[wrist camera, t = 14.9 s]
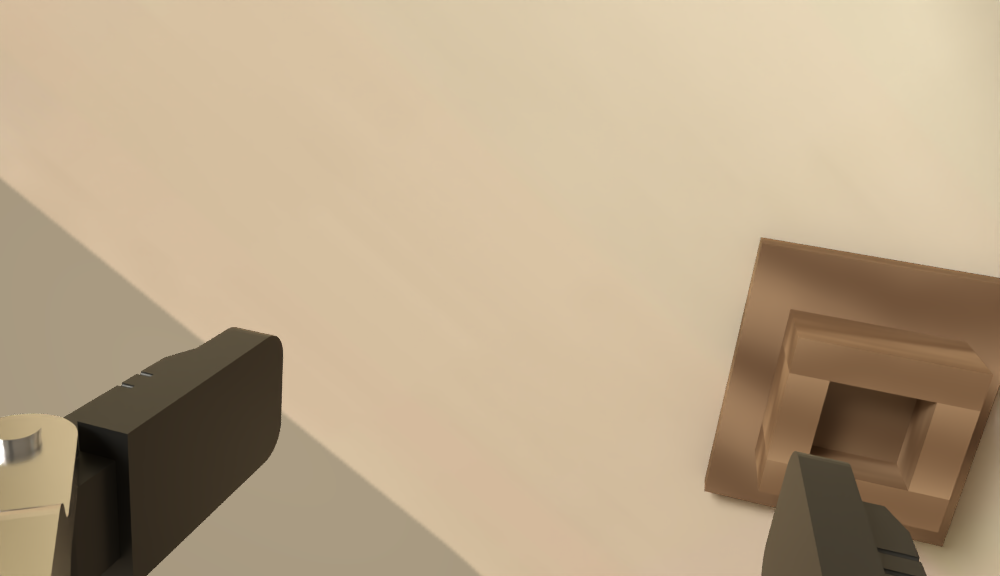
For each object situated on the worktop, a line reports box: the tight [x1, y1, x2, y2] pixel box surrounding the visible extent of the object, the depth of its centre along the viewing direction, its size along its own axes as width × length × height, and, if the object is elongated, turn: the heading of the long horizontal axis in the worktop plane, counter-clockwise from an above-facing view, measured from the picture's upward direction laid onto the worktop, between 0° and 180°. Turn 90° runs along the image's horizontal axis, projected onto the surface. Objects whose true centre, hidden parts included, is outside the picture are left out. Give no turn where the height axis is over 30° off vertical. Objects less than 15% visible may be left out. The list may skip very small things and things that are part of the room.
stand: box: [705, 237, 1000, 546], centre depth 39 cm, size 14×12×5 cm
